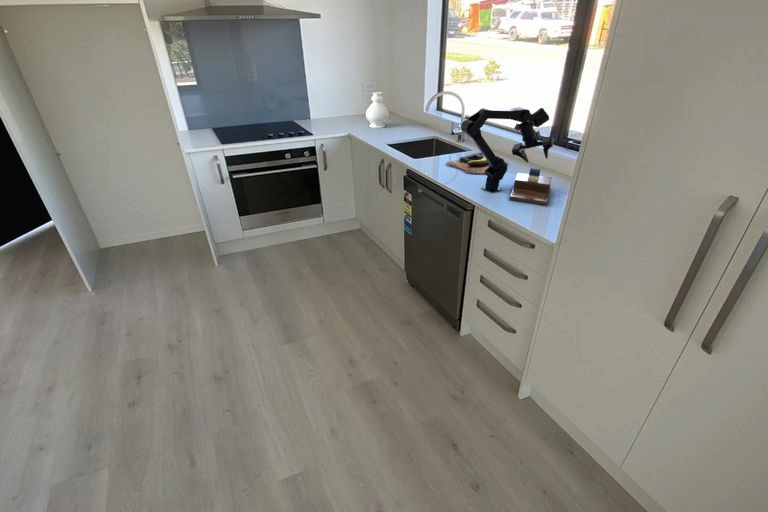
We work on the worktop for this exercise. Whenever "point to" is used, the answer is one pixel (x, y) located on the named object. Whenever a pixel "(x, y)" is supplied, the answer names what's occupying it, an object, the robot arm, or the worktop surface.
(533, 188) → the brown wooden cabinet
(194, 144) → the worktop surface
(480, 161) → the cutting board
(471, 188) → the worktop surface
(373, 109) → the decorative vase
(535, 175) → the blue sleeved eraser
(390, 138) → the worktop surface
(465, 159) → the door handle
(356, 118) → the worktop surface
